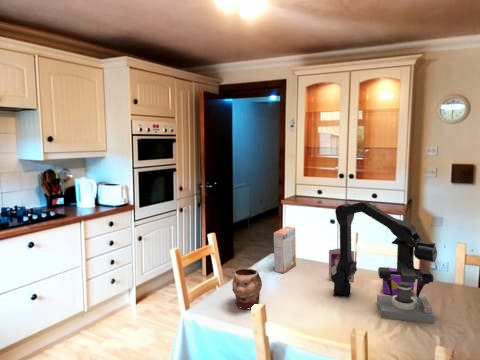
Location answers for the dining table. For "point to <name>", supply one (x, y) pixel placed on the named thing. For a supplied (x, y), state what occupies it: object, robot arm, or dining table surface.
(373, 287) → the dining table surface
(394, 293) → the toy camera
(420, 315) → the mount
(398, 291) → the lens
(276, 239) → the cracker box
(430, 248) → the robot arm
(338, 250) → the purple printed box
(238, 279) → the decorative planter
